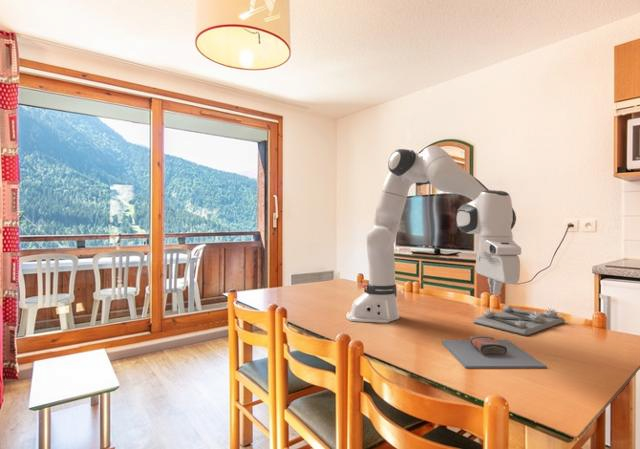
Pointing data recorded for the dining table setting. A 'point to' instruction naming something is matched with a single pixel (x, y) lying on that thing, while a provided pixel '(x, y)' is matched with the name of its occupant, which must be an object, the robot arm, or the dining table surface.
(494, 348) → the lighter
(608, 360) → the dining table surface
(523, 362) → the mat
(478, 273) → the robot arm
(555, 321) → the grey spiked board
